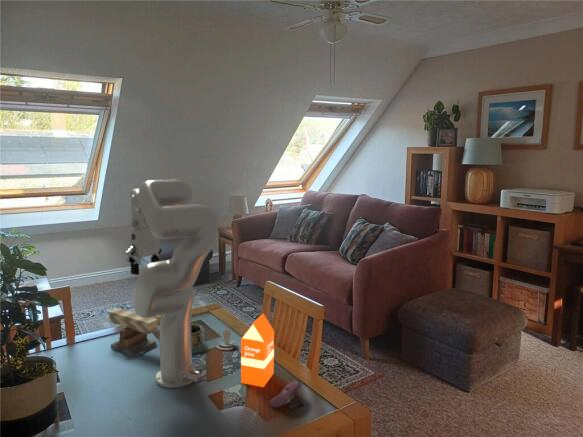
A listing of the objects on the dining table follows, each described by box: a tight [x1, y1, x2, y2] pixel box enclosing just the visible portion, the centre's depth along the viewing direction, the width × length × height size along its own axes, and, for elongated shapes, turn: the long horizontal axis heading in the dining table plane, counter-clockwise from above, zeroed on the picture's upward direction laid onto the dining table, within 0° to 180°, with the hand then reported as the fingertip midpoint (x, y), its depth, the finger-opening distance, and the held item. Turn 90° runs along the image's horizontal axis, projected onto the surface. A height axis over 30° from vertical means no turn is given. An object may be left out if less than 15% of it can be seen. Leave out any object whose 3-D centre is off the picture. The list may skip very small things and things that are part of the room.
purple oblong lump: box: [269, 380, 303, 408], centre depth 126 cm, size 10×5×7 cm, turn 150°
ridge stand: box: [110, 327, 157, 357], centre depth 157 cm, size 12×10×8 cm
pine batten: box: [108, 308, 159, 335], centre depth 156 cm, size 20×4×4 cm, turn 61°
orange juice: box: [240, 313, 275, 388], centre depth 137 cm, size 8×9×20 cm
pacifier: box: [215, 329, 238, 351], centre depth 158 cm, size 7×6×6 cm
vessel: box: [191, 323, 203, 350], centre depth 160 cm, size 12×9×6 cm
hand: (145, 270), depth 156 cm, fingers open, 9 cm apart
